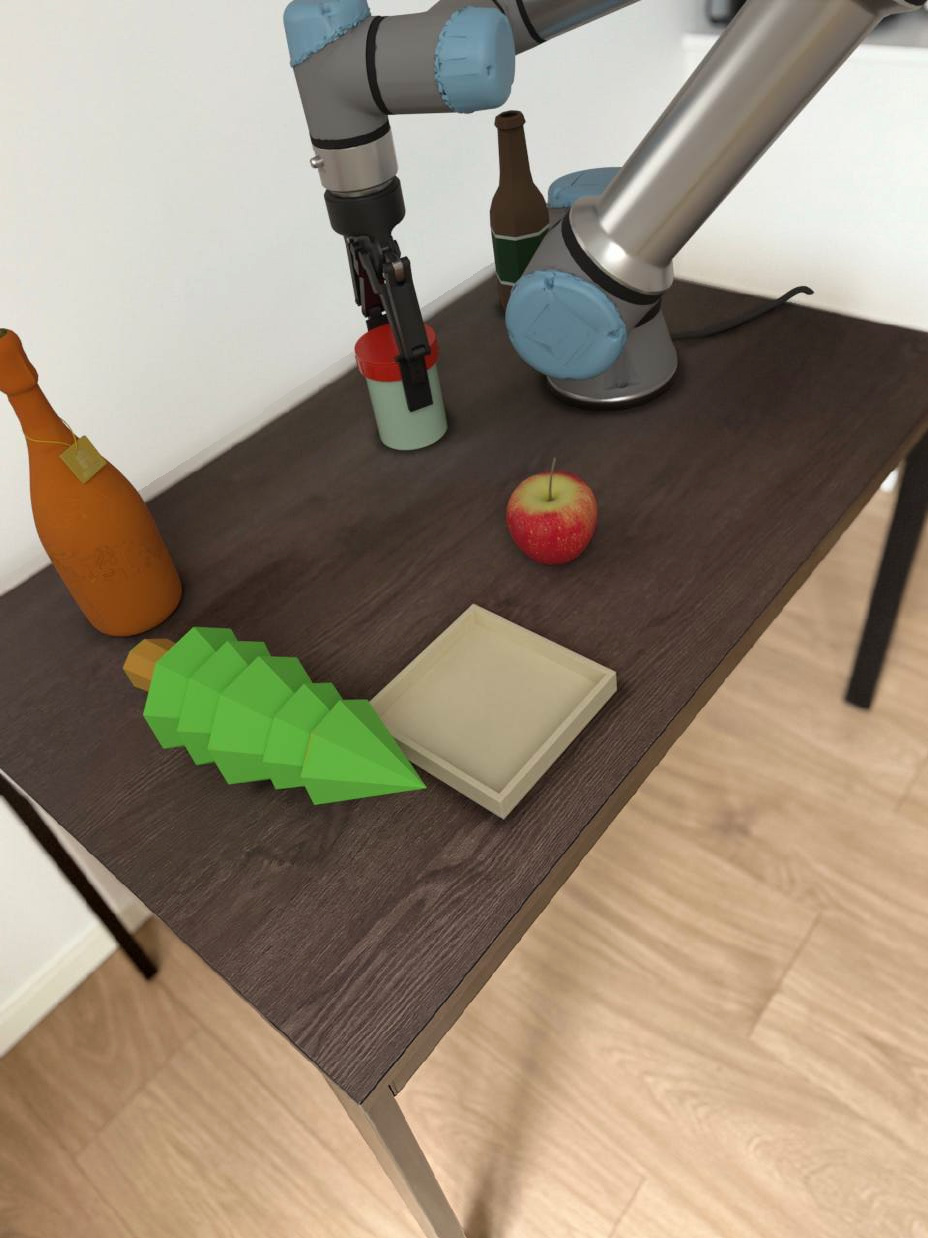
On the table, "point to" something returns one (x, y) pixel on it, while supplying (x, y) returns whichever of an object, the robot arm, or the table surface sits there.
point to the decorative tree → (264, 718)
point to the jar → (407, 414)
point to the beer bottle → (515, 206)
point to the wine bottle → (88, 513)
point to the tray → (491, 707)
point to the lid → (386, 354)
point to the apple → (552, 516)
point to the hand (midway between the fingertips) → (404, 387)
